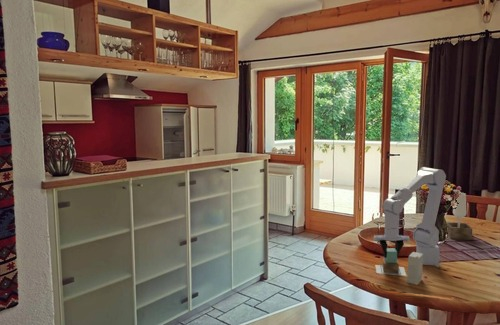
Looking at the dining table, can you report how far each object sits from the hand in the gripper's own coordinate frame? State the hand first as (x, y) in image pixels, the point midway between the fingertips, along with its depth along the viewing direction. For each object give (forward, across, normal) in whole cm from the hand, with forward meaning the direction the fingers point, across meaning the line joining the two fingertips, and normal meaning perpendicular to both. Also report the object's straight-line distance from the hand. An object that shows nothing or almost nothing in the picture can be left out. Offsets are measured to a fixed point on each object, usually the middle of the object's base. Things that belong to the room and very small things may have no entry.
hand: (390, 256), depth 165 cm
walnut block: (+6, 0, 0) cm, 6 cm away
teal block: (+2, 0, 0) cm, 2 cm away
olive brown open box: (+7, -50, -51) cm, 71 cm away
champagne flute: (+7, -50, -51) cm, 71 cm away
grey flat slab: (+7, 0, 0) cm, 7 cm away
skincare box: (+7, -7, +10) cm, 14 cm away
